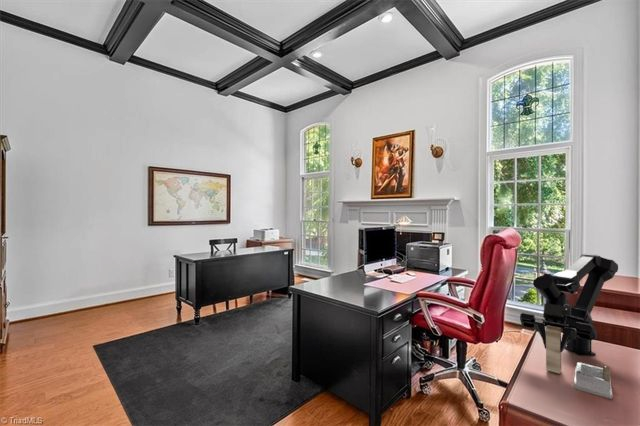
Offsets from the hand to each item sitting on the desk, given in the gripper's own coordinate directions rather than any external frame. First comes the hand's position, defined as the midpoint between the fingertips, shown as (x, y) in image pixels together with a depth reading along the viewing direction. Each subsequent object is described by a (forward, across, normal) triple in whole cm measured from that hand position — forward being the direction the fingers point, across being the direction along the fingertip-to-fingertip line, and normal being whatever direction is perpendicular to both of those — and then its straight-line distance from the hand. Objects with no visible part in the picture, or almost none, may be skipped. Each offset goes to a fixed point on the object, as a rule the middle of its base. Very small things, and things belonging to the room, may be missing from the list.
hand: (553, 349), depth 96 cm
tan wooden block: (+4, 0, +6) cm, 7 cm away
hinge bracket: (+5, +9, +6) cm, 12 cm away
